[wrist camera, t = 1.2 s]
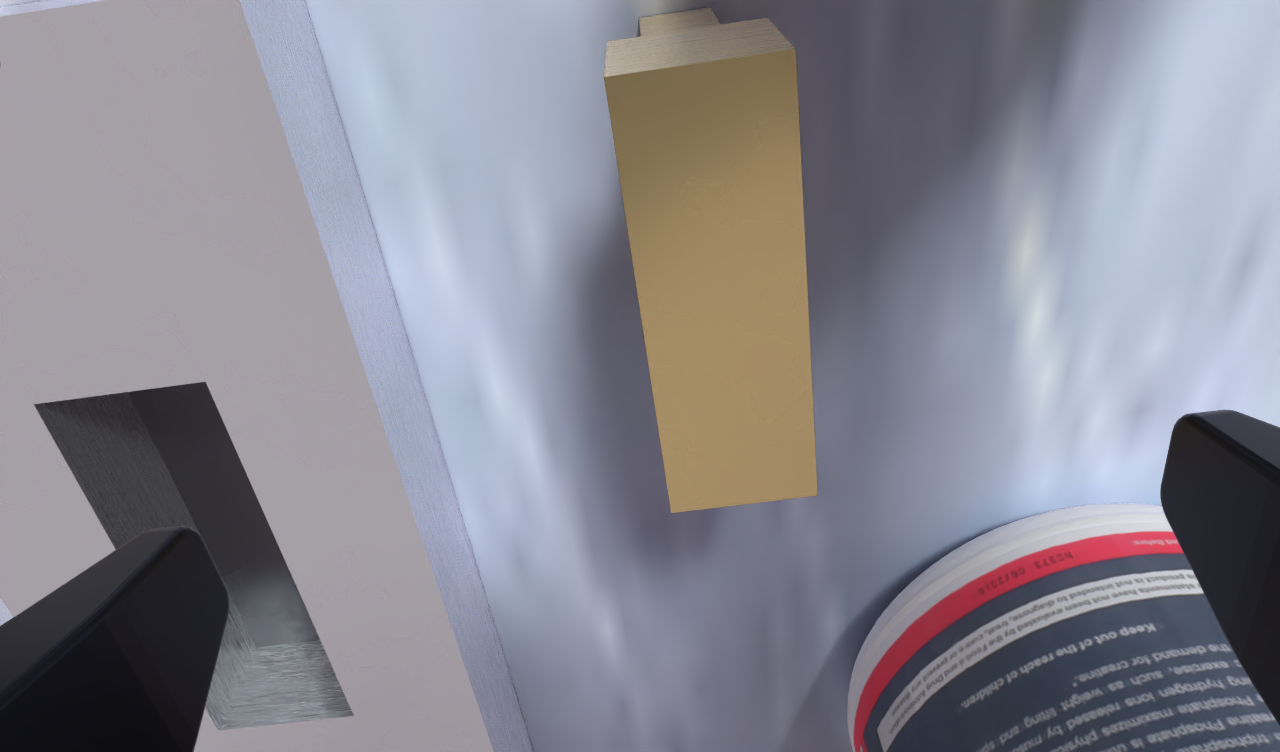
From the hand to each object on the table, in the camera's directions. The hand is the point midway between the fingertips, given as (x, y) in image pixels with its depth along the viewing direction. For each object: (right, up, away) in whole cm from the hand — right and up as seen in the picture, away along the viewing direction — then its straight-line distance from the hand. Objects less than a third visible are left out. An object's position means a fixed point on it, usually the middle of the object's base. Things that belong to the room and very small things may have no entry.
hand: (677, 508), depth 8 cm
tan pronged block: (+1, +6, +11) cm, 12 cm away
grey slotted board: (-10, -2, +15) cm, 18 cm away
